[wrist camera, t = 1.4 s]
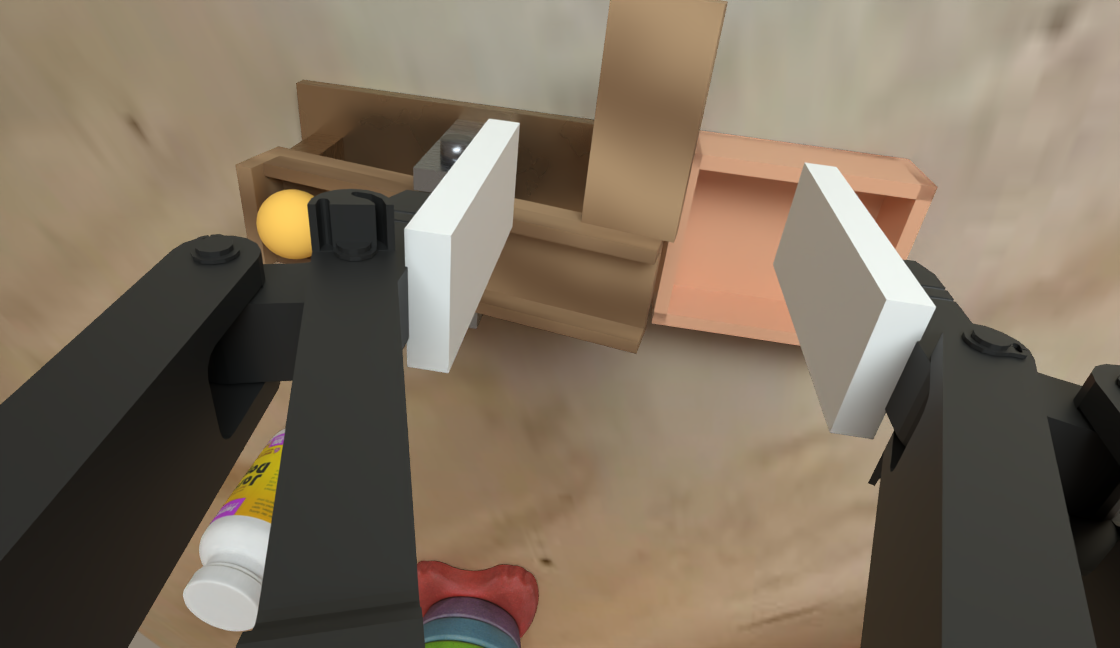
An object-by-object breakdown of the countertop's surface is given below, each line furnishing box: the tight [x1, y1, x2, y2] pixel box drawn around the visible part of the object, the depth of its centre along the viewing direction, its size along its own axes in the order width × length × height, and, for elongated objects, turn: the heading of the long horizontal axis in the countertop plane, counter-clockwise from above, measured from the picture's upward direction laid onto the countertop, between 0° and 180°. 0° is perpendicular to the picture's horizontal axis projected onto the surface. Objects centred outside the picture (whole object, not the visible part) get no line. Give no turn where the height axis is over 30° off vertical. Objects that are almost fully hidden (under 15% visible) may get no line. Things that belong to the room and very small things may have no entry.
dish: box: [652, 131, 937, 345], centre depth 35 cm, size 9×11×4 cm
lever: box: [236, 0, 728, 354], centre depth 28 cm, size 14×20×3 cm
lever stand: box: [291, 80, 594, 329], centre depth 34 cm, size 10×20×8 cm, turn 84°
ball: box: [256, 189, 315, 259], centre depth 31 cm, size 3×3×3 cm
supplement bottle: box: [183, 429, 285, 631], centre depth 45 cm, size 7×7×13 cm
